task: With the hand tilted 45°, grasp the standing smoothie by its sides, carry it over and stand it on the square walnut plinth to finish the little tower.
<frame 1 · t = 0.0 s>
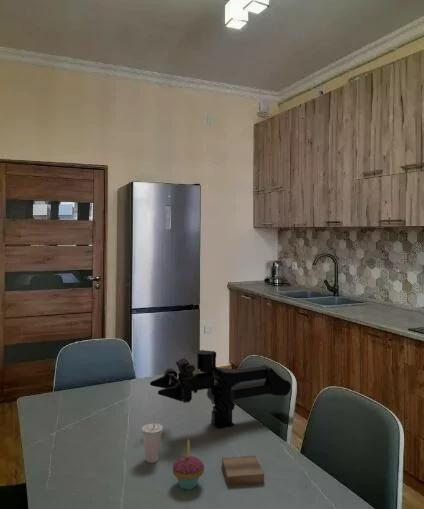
hand: (154, 388, 142), 17 cm above the table, tool horizontal, fingers open, 9 cm apart
plinth: (242, 474, 120), on the table
cupcake: (188, 485, 115), on the table
smoothie: (152, 460, 128), on the table
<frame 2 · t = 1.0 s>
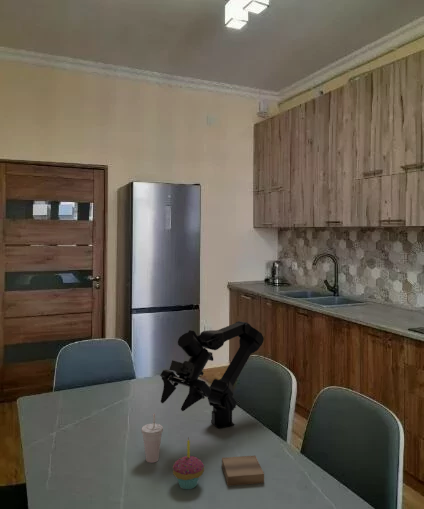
hand: (171, 406, 133), 14 cm above the table, tool tilted 45°, fingers open, 9 cm apart
nothing on the table moved.
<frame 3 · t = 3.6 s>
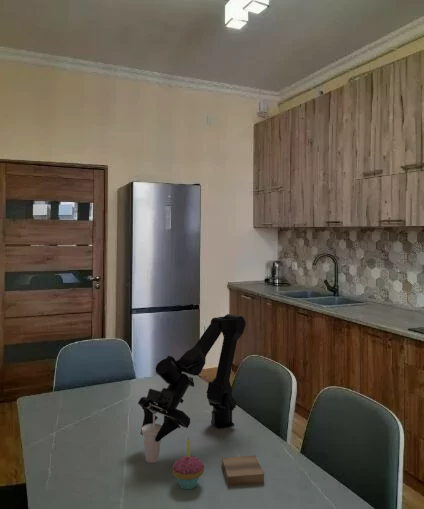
hand: (148, 437, 126), 7 cm above the table, tool tilted 45°, fingers closed on smoothie, 6 cm apart
smoothie: (152, 460, 128), on the table, touching gripper
everything else where it was.
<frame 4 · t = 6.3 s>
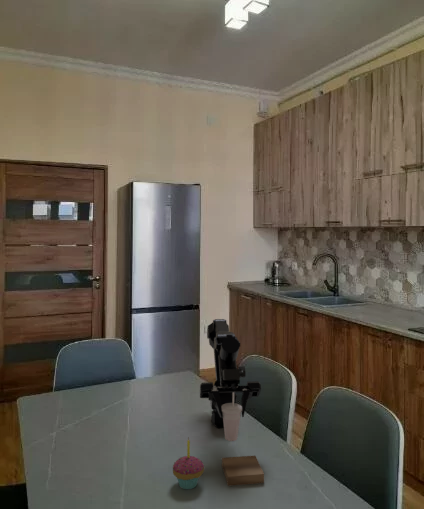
hand: (232, 417, 127), 13 cm above the table, tool tilted 45°, fingers closed on smoothie, 6 cm apart
smoothie: (231, 438, 128), point 6 cm above the table, touching gripper
everything else where it was.
when the fingers open (11 cm above the table, at t = 8.9 s): smoothie stays where it is, resting on plinth.
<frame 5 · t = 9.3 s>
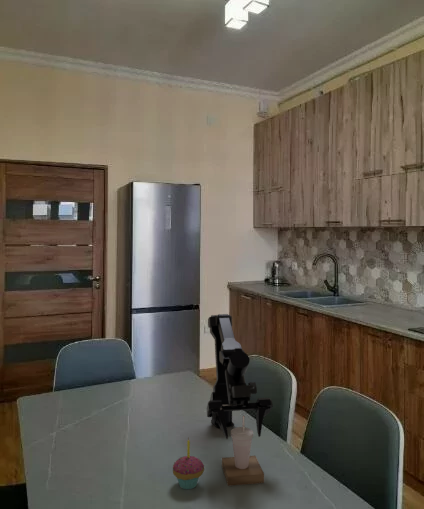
hand: (243, 437, 118), 11 cm above the table, tool tilted 45°, fingers open, 9 cm apart
smoothie: (241, 466, 120), point 2 cm above the table, touching plinth
everything else where it was.
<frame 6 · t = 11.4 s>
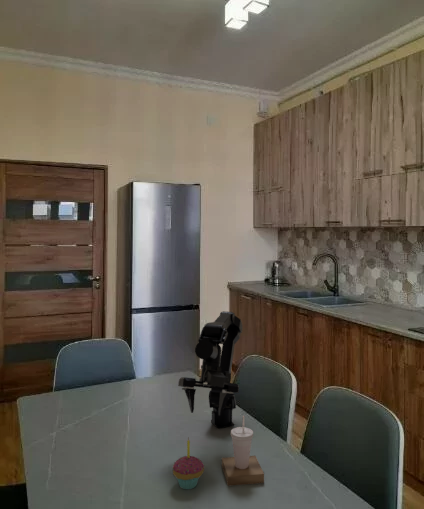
hand: (206, 414, 132), 12 cm above the table, tool tilted 20°, fingers open, 9 cm apart
nothing on the table moved.
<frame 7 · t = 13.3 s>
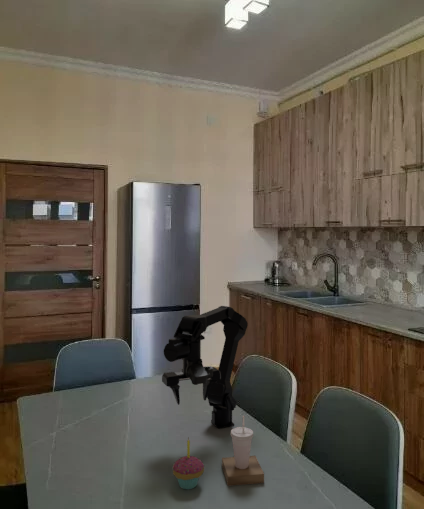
hand: (191, 402, 139), 13 cm above the table, tool pointing down, fingers open, 9 cm apart
nothing on the table moved.
at the end: smoothie inside the target area on the plinth (0.1 cm from its centre), point 2.3 cm above the plinth's base; smoothie tilted 0°; the gripper is holding nothing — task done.
